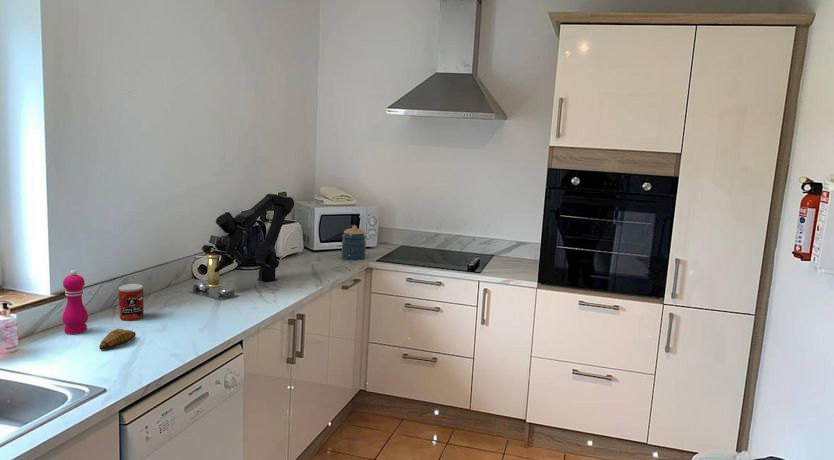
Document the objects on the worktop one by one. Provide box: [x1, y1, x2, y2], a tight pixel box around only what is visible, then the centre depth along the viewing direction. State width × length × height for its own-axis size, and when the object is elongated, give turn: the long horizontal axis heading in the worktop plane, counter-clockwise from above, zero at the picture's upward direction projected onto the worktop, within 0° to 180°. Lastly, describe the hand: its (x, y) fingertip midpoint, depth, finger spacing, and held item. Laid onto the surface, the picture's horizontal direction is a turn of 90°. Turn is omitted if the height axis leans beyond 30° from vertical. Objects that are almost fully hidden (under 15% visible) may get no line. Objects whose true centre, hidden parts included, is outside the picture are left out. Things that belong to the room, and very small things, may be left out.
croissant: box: [99, 328, 137, 351], centre depth 185 cm, size 14×7×5 cm, turn 163°
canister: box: [341, 224, 367, 260], centre depth 326 cm, size 13×13×18 cm
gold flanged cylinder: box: [206, 253, 221, 289], centre depth 243 cm, size 5×5×13 cm
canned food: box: [118, 283, 145, 322], centre depth 210 cm, size 8×8×11 cm
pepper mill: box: [61, 269, 89, 335], centre depth 193 cm, size 7×7×20 cm
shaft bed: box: [187, 281, 240, 301], centre depth 244 cm, size 19×9×3 cm, turn 60°
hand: (210, 270), depth 242 cm, fingers closed on gold flanged cylinder, 4 cm apart
